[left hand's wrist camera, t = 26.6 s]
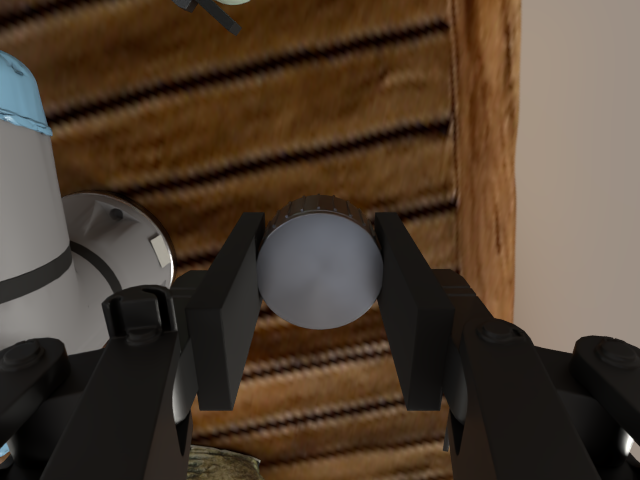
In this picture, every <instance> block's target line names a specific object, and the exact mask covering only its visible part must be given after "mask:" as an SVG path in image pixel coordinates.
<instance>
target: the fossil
mask: <svg viewBox="0 0 640 480" xmlns="http://www.w3.org/2000/svg"><path fill="white" fill-rule="evenodd" d="M259 464H260V460H258V459H256V458H254V457H252V456H247V455H243V454H240V453H236V452H231V451H227V450H219V449H216V448H212V447H204V446H195V445H191V446H190V455H189V463H188V471H187V479H186V480H264V478H263V477H262V476H261V475H260V474H259Z"/></svg>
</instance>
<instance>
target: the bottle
mask: <svg viewBox="0 0 640 480" xmlns="http://www.w3.org/2000/svg"><path fill="white" fill-rule="evenodd" d="M216 1H218V2H221V3H224V4H228V5H237V4H242V3H245V2H248V1H249V0H216Z"/></svg>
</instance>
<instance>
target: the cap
mask: <svg viewBox="0 0 640 480" xmlns="http://www.w3.org/2000/svg"><path fill="white" fill-rule="evenodd" d="M381 251H382V248H381V246H380V243H379V240H378V238H377V235H376V233H375V232H374V230H373V227H372V225H371V222H370V220H369V219H368V220H367V218H366V217H365V216H364V214H363V213H362V211H361V209H360V208H359V209H357V208H356V207H355V206H354V205H352V204H350V203H349V201H348V200H347V201H345V200H342V199H340V198H337V197H335V195H333V196H327V195H320V194H318V195H313V196H307V197H305V196H303V197H302V198H300V199H297V200H295V201H293V202H291V201H290V202H289V204H288V205H286V206H285V207H283V208H282V209H281V210H278V211H277V213H276V215H275V217H274V218H273V219H272V221H269V223H268V225H267V228H266V231H265V233H264V236H263V238H262V241H261V243H260V246H259V249H258V255H257V259H256V269H257V284H258V289H259V292H260V294H261V296H262V298H263V300H264V301H265V302H266V304H267V305H268V306H269V308H270V309H271V310H272V311H273V312H274V313H276V314H277V315H278V316H279V317H281V318H282V319H284V320H286V321H288V322H290V323H292V324H294V325H297V326H300V327H304V328H310V329H331V328H336V327H340V326H343V325H346V324H348V323H350V322H352V321H354V320H356V319H357V318H359V317H360V316H361V315H363V314H364V313H365V312H366V311H367V310H368V309H369V308H370V307H371V306H372V305H373V303H374V302H375V301H376V299H377V297H378V295H379V293H380V291H381V288H382V281H383V265H384V261H383V257H382V254H381Z"/></svg>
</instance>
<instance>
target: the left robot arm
mask: <svg viewBox="0 0 640 480" xmlns="http://www.w3.org/2000/svg"><path fill="white" fill-rule="evenodd" d="M50 136H52V130H51V128H50V127H48V125H47V121H46V118H45V114H44V110H43V106H42V102H41V99H40V95H39V91H38V86H37V83H36V80H35V78H34V76H33V74H32V73H31V72H30V70H29V69H28V68H27V67H26V66H25V65H24V64H23V63H22V62H21V61H19V60H18V59H17V58H15V57H13V56H12V55H10V54H8V53H6V52H3V51H1V50H0V457H1V456H3V455H4V454H6V453H7V452H8V451H10V453H11V454H10V455H9V456H8V458H7V459H6V460H5V461H4V462H3V463H1V464H0V480H186V479H187V471H188V463H189V455H190V446H191V438H192V430H193V421H192V415H191V409H190V408H191V406H192V403H193V401H194V398H195V396H196V394H197V396H198V402H199V409H200V411H233V407H234V403H235V399H236V396H237V392H238V388H239V385H240V381H241V377H242V374H243V370H244V366H245V363H246V359H247V355H248V352H249V348H250V344H251V340H252V337H253V333H254V329H255V326H256V322H257V318H258V315H259V311H260V307H261V304H262V300H263V298H262V296H261V294H260V292H259V289H258V284H257V269H256V259H257V255H258V249H259V246H260V243H261V241H262V238H263V236H264V233H265V214H264V212H244V213H243V214H242V216H241V218H240V219H239V221H238V222H237V224H236V226H235V227H234V229H233V231H232V232H231V234H230V235H229V237H228V239H227V240H226V242H225V244H224V245H223V247H222V248H221V250H220V252H219V253H218V255H217V256H216V258H215V260H214V261H213V263H212V265H211V266H210V268H209V269H208V270H190V271H188V272H187V273H185V274H183V275H182V276H180V277H178V278H177V279H176V280H175V277H176V271H177V260H176V253H175V250H174V246H173V244H172V241H171V239H170V237H169V235H168V233H167V232H166V230H165V228H164V227H163V226H162V224H161V223H160V222H159V221H158V220H157V219H156V217H155V216H154V215H152V214H151V213H150V212H149V211H148V210H147V209H145V208H144V207H143V206H141V205H140V204H138V203H136V202H135V201H133V200H131V199H129V198H127V197H124V196H122V195H119V194H116V193H112V192H107V191H99V190H86V191H79V192H75V193H72V194H69V195H66V196H64V197H62V198H61V194H60V189H59V184H58V179H57V174H56V168H55V162H54V156H53V151H52V145H51V139H50ZM374 232H375V233H376V235H377V238H378V240H379V243H380V246H381V248H382V251H381V254H382V257H383V261H384V265H383V281H382V288H381V291H380V293H379V295H378V297H377V301H378V305H379V308H380V312H381V316H382V319H383V323H384V327H385V330H386V334H387V338H388V341H389V345H390V349H391V352H392V356H393V360H394V364H395V367H396V371H397V375H398V378H399V382H400V386H401V389H402V393H403V397H404V400H405V404H406V408H407V411H440V407H441V401H442V394H443V392H444V395H445V397H446V400H447V402H448V404H449V407H450V409H449V415H448V421H447V427H446V433H445V439H444V446H443V451H447V452H448V449H449V446H450V454H451V462H452V470H453V478H454V480H640V463H639V462H638V461H637V460H636V459H635V458H634V457H633V456H632V455H631V453H630V449H631V447H632V444H633V442H634V441H635V442H636V443H637V444H638V445H639V446H640V349H639V348H637V347H635V346H633V345H630V344H628V343H626V342H625V341H622V340H619V339H616V338H615V339H613V338H611V337H607V336H593V335H592V336H586V337H581V338H580V339H579V340H578V341H576V343H575V347H574V350H573V354H572V353H567V352H561V351H556V350H551V349H546V348H541V347H537V346H534V344H533V343H532V341H531V339H530V337H529V336H528V335H527V334H526V332H525V331H524V330H522V329H521V328H519V327H517V326H516V325H514V324H512V323H509V322H507V321H504V320H501V319H496V318H494V317H493V316H492V315H491V313H490V312H489V311H488V309H487V308H486V307H485V305H484V304H483V303H482V301H481V300H480V299H479V297H478V296H476V293H475V292H474V291H473V290H472V288H470V286H469V284H468V283H467V282H466V280H465V279H464V278H463V277H462V276H460V275H459V274H457V273H455V272H454V271H452V270H451V269H431V268H430V267H429V265H428V263H427V262H426V260H425V259H424V257H423V255H422V254H421V252H420V250H419V249H418V247H417V246H416V244H415V242H414V241H413V239H412V237H411V236H410V234H409V233H408V231H407V229H406V228H405V226H404V224H403V223H402V221H401V220H400V218H399V216H398V215H397V213H396V212H375V228H374ZM174 280H175V282H174ZM109 338H110V339H109ZM108 339H109V341H108ZM107 341H108V343H107V345H106V347H105V348H102V347H103V346H104V344H105V343H106V342H107ZM101 348H102V349H101Z"/></svg>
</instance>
